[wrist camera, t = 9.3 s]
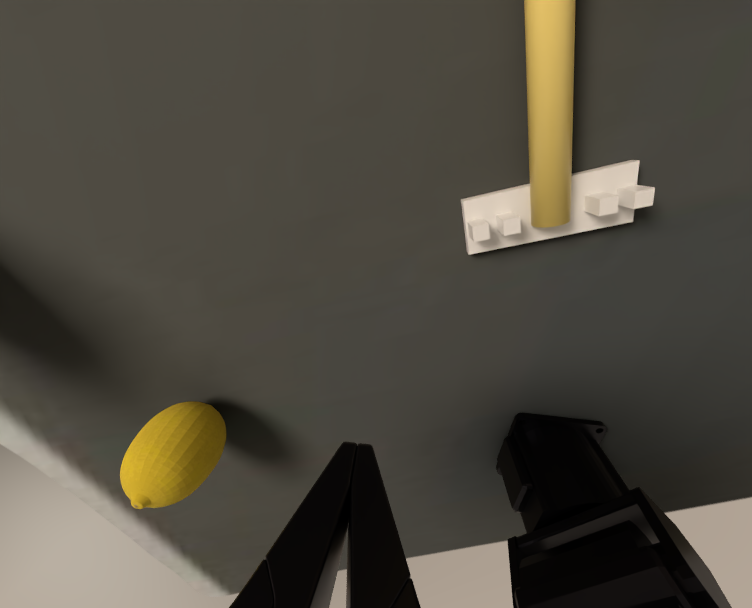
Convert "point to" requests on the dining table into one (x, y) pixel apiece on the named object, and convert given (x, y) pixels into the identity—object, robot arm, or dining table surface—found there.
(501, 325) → the dining table surface
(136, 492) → the lemon
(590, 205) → the wooden handled rake
